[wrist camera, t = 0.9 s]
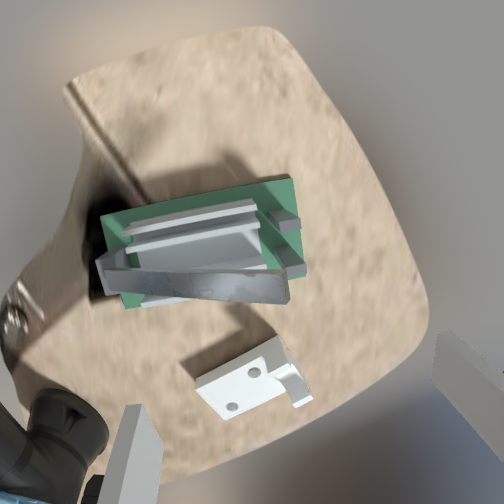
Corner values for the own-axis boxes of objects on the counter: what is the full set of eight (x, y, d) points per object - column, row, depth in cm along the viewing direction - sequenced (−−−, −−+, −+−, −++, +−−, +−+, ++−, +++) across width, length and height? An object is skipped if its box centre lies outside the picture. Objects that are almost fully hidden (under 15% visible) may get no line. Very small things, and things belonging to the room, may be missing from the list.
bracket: (277, 331, 41) (287, 362, 34) (300, 365, 43) (313, 398, 36) (196, 374, 42) (193, 409, 34) (224, 404, 44) (225, 440, 36)
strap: (115, 287, 30) (109, 290, 30) (109, 267, 30) (103, 270, 29) (290, 299, 21) (286, 304, 21) (286, 269, 21) (281, 273, 20)
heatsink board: (126, 307, 38) (107, 338, 30) (101, 215, 35) (72, 228, 27) (304, 274, 39) (324, 300, 31) (291, 177, 36) (310, 180, 28)
